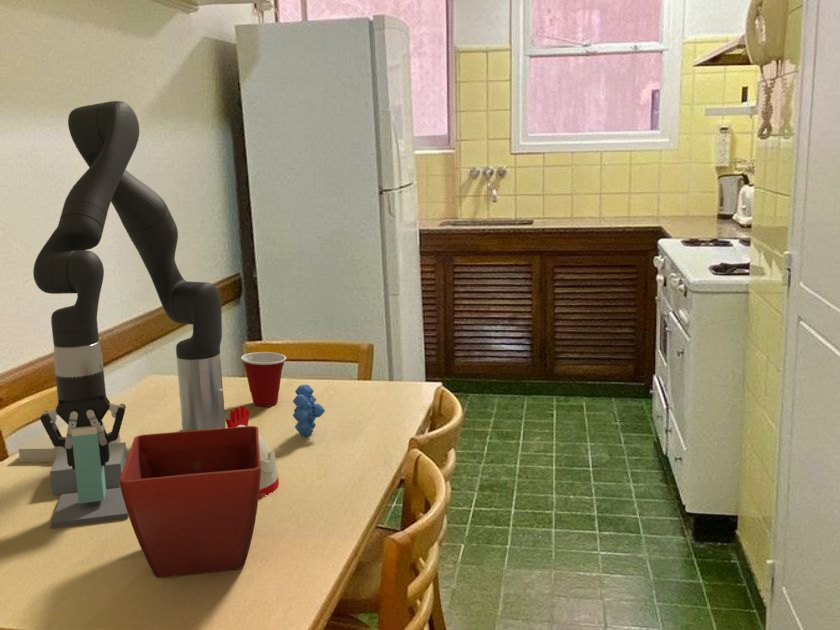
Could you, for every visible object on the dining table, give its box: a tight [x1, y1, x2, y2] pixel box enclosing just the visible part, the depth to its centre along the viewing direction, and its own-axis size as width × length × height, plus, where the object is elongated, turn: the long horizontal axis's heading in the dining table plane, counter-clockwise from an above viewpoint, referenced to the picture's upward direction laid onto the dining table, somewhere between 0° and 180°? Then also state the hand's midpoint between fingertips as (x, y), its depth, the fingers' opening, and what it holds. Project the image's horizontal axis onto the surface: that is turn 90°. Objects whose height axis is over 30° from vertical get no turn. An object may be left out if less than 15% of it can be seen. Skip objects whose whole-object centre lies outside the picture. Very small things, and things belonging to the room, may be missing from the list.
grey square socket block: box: [49, 441, 128, 496], centre depth 157 cm, size 12×12×4 cm
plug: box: [71, 426, 107, 503], centre depth 142 cm, size 4×4×13 cm
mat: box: [50, 487, 129, 529], centre depth 143 cm, size 12×12×1 cm
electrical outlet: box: [18, 432, 122, 463], centre depth 169 cm, size 7×4×18 cm
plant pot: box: [119, 425, 261, 579], centre depth 124 cm, size 19×19×17 cm
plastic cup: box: [240, 351, 287, 408], centre depth 201 cm, size 11×11×12 cm
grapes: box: [292, 384, 326, 438], centre depth 176 cm, size 12×7×12 cm, turn 176°
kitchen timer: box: [225, 405, 280, 499], centre depth 150 cm, size 14×14×15 cm
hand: (89, 465), depth 142 cm, fingers closed on plug, 4 cm apart
